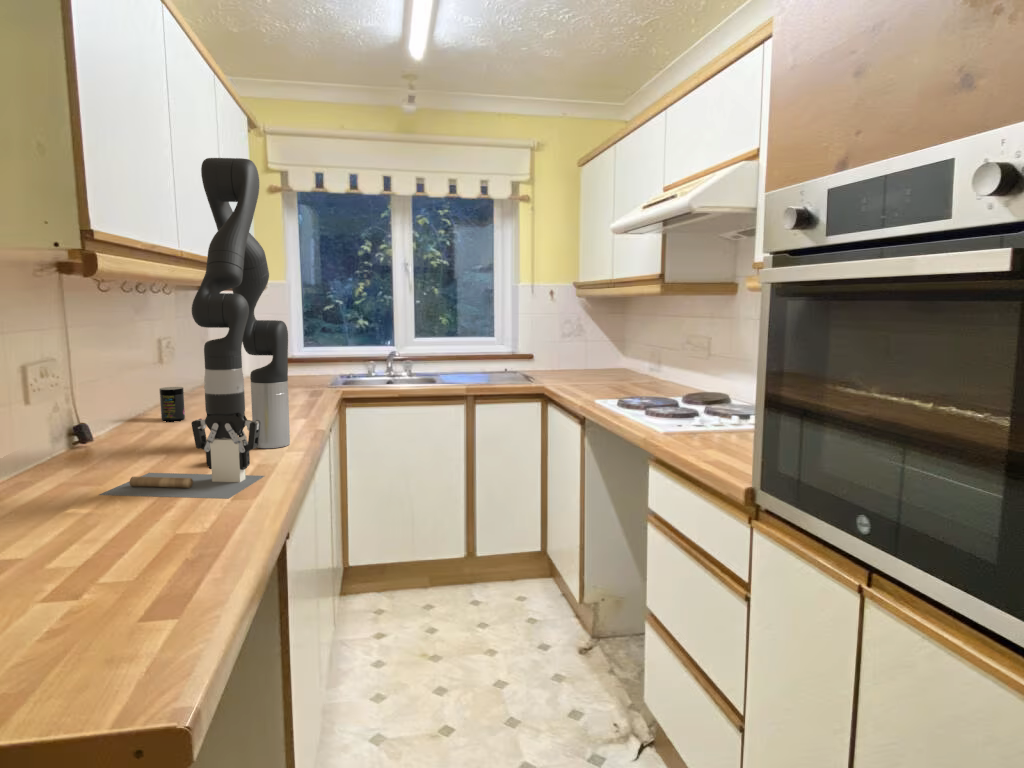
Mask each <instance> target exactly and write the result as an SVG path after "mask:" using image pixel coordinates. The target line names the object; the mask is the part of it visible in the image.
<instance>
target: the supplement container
mask: <svg viewBox="0 0 1024 768" xmlns="http://www.w3.org/2000/svg"><path fill="white" fill-rule="evenodd" d="M184 391H185V390H184V387H183V386H167V387H160V388H159V400H160V401H159V402H160V403H159V404H160V418H161V421H162V422H163V421H166V422H165V423H175V422H174V421H179V422H182V421H181V420H183V421H184V420H185V419H186V413H185V411H186V409H185V392H184Z"/></svg>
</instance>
